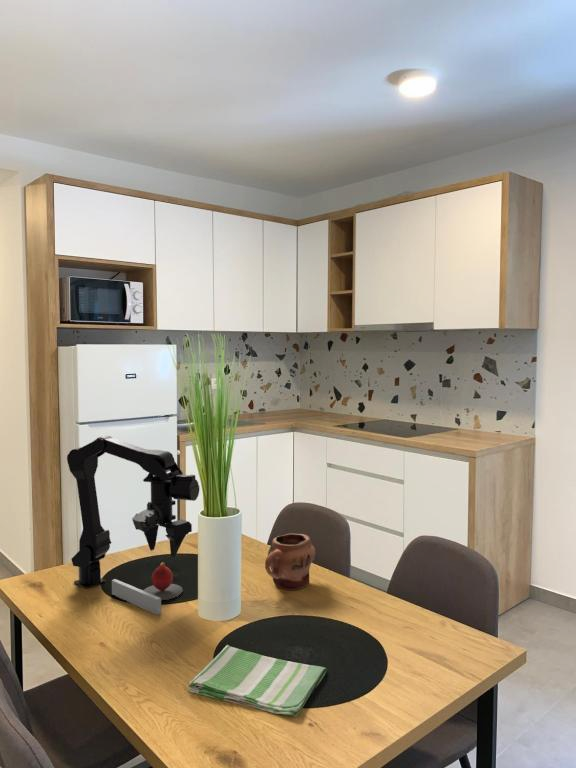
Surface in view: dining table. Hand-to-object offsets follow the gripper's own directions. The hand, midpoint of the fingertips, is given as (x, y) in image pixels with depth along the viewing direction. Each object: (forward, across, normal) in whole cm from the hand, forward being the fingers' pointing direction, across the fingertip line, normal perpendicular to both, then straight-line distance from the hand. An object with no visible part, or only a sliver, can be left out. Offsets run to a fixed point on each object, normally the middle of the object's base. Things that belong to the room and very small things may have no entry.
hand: (162, 553), depth 167 cm
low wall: (+11, 0, -9) cm, 14 cm away
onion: (+11, 0, 0) cm, 11 cm away
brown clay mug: (+12, +24, +26) cm, 37 cm away
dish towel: (+12, +51, -16) cm, 55 cm away
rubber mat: (+11, 0, 0) cm, 11 cm away
